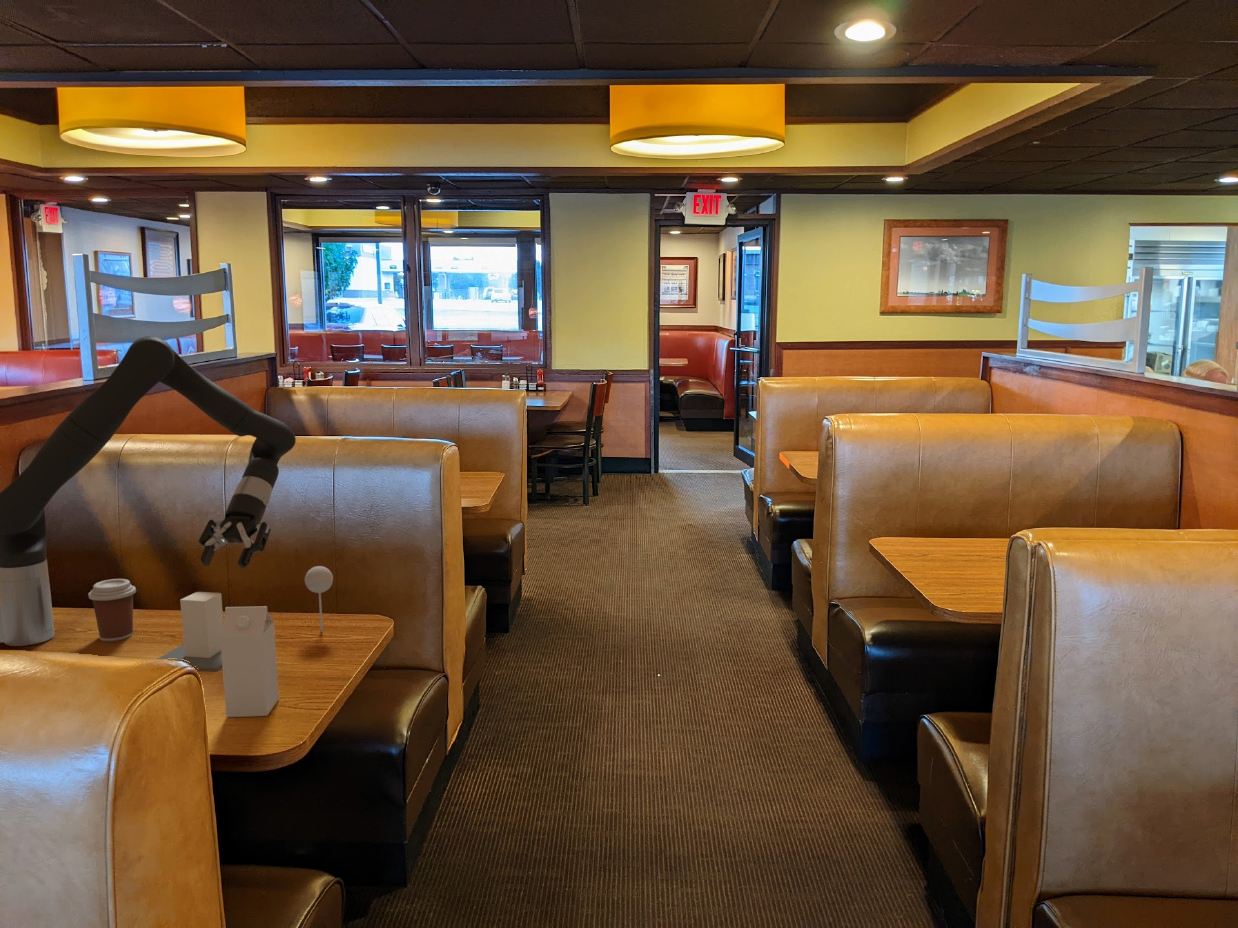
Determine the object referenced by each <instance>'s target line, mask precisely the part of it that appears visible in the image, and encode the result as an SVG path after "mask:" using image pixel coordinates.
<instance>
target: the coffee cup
mask: <svg viewBox="0 0 1238 928" xmlns="http://www.w3.org/2000/svg"><path fill="white" fill-rule="evenodd" d="M92 588H93V589H91V590H90V592H88V594H87V595H88V599H89V600H91V601H92V606H93V609H94V614H95V619H96V620H95V621H96V624H97V631H98V633H99V634H98V635H99V640H100V641H103V642H116V641H117V642H118V641H123V640H125V639H128V638H130V637H132V636H133V635H134V594H136V592H137V588H136V586H135V585H132V583H131V581H130V580H129V579H127V578H112V579H105V580H101V581H98V582H96V583H95V584H93V586H92Z"/></svg>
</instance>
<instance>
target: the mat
mask: <svg viewBox="0 0 1238 928" xmlns="http://www.w3.org/2000/svg"><path fill="white" fill-rule="evenodd" d="M168 658H177V659H168ZM157 659H168V660H175V661H183V662H186V663H188V664H189V665H191V666H192V667H194V668H195V669H196V670H195V671H203V670H206V672H218V671H220V670H223V667H222V654H221V651H220V652H218V653H217V654H215V655H213V656H212V657H210V658H203V657H189V656H185V653H184V643H183V644H181V645H179V646H177V647H176V648H173V649H172V650H170V651H168V652H167V653H165V654H163V655H161V656H160V657H157ZM181 659H184V660H187V661H189V662H190V663H189V662H187V661H184V660H181ZM195 666H196V667H195ZM197 668H198V669H199V670H198V669H197Z"/></svg>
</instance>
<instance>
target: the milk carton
mask: <svg viewBox="0 0 1238 928" xmlns="http://www.w3.org/2000/svg"><path fill="white" fill-rule="evenodd" d="M275 630H276V629H275V621H274V619H273V618H272V616H271V615H270V613H269V612H268V606H266V605H264V606H261V605H260V606H226V607H225V614H224V617H223V626H222V630H221V634H220V640H221V654H222V667H223V668H222V680H223V681H222V682H223V692H224V702H225V703H224V704H225V706H224V707H225V716H226V718H238V717H239V718H241V717H247V718H248V717H265V716H266V717H267V716H268V715H269V714H270V712H271V711H272V710H273V708H274V707H275V706H276V704H277V703H278V701H279V700H280V693H279V681H278V680H279V678H278V677H279V676H278V662H277V661H278V660H277V646H276V634H275V632H276V631H275Z"/></svg>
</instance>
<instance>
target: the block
mask: <svg viewBox="0 0 1238 928" xmlns="http://www.w3.org/2000/svg"><path fill="white" fill-rule="evenodd" d="M179 601H180V602H179V603H180V613H181V624H182V639H183V640H182V641H183V644H184V653H185V656H189V657H203V658H210V657H212V656H213V655H215V654H217V653H218V652H220V651H221V640H220V634H221V630H222V626H223V622H224V615H223V614H224V612H223V600H222V593H221V592H209V591H196V592H194V593H192V594H191V593H190V595H187V596H185V597H183V598H181V599H180V600H179Z"/></svg>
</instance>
